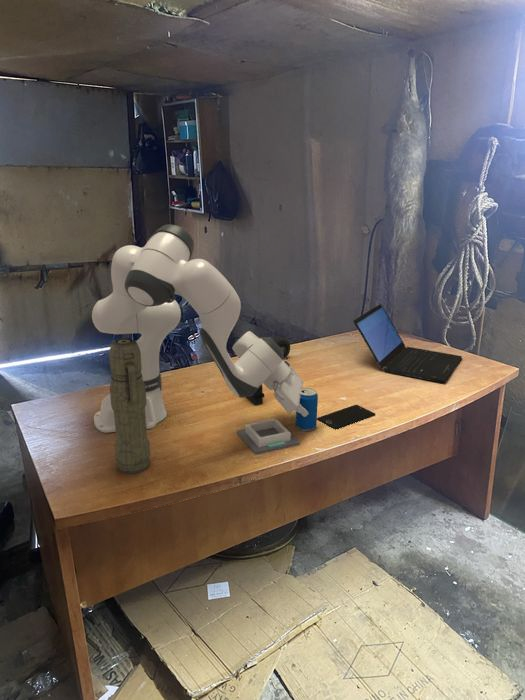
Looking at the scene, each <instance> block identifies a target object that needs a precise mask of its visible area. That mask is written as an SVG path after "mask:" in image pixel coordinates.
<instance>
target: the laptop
mask: <svg viewBox="0 0 525 700" xmlns="http://www.w3.org/2000/svg"><path fill="white" fill-rule="evenodd" d="M353 324H354V325H355V328H356V329H357V330H358V332H359V334H360V335H361V337H362V339H363V340H364V342H365V344H366V346H367V347H368V349H369V351H370V352H371V354H372V356H373V358H374V359H375V361H376V363H377V364H378V367H379V368H380V370H382V371H384V372H385V373H390V374H395V375H401V376H403V377H409V378H410V377H411V378H415V379H420V380H426V381H430V382H436V383H441V384H445V383H446V382H447V381H448V380H449V378H450V377H451V375H452V373H454V371H455V369H456V368H457V366H458V364H460V362H461V360H462V358H463V356H462V355H457V354H452V353H445V352H441V351H435V350H434V351H433V350H429V349H423V348H417V347H411V346H406V345H405V343H404V341H403V340H402V337H401V336H400V334H399V332H398V331H397V329H396V327H395V325H394V323H393V321H392V320H391V319H390V317H389V315H388V313H387V312H386V310H385V309H384V306H382V304H378V305H376V306H374V307H373V308H372V309H370V310H368V311H367V312H365V313H363V314H362V315H360V316H358V317H357V318H355V319H354V320H353Z"/></svg>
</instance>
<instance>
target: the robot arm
mask: <svg viewBox="0 0 525 700" xmlns="http://www.w3.org/2000/svg"><path fill="white" fill-rule="evenodd" d="M194 249H195V242H194V239H193V237H192V236H191V234H190V233H189V231H187V230H186V229H184V228H183V227H181V226H179V225H176V224H171V223H170V224H168V223H167V224H164V225H163V226H161V227H159V228H158V229H157V230H156V231H154V232H153V233H152V234H151V235H150V236H148V238H147V242H146V244H145V245H144V246H142V247H140V246H137V245H133V244H132V245H130V244H129V245H124V246H122V247H120V248H119V249H117V250H116V252H115V253H114V254H113V256H112V260H111V267H110V269H111V270H110V275H111V277H110V278H111V285H112V292H111V294H109V295H108V296H106V297H105V298H101V299H100V300H97V301H96V303H95V304H94V306H93V308H92V311H91V320H92V323H93V325H94V327H95V328H96V329H97V330H98V331H99V332H100V333H104V334H112V335H127V334H129V335H130V334H140V335H141V336H140V337H139V338H138V339H137V340H135V341H136V342H137V344H138V347H139V349H140V352H141V367H142V370H141V373H142V379H143V381H144V383H145V389H146V406H145V416H146V430H147V429H148V430H149V429H154V428H155V427H156V425H157V424H158V423H160V422H161V421H163V420H164V419H166V417H167V415H168V413H167V412H168V411H167V409H166V407H165V404H164V400H163V394H162V386H163V383H162V382H163V381H162V374H161V372H160V350H161V347H162V345H163V342H164V340H165V339H166V337H167V336H168V335H169V334H170V333H171V332H172V331H174V329H176V328H177V326H178V325H179V323H180V320H181V318H182V311H181V307H180V305H179V303H178V302H177V300H176V295H178V296H180V297H181V298H184V300H186V301H187V302H188V303H189V305H190V306H191V307H192V309H193V310H194V312H196V313H197V315H198V317H199V320H200V330H199V335H200V338H201V341H202V342H203V344H204V346H205V349H206V350H207V352H208V353H209V355H210V357H211V358H212V360H213V361H214V363H215V365H216V367H217V368H218V370H219V372H220V373H221V376H222V377H223V378H222V379H224V381H225V385H226V386H227V387H228V389H229V390H230V391H231V393H233V394H234V395H235V396H236V397H239V398H247V397H250V396H253V394H254V393H255V392H256V391H257V389H258V388H259V386H260V385H261V384H262V385H264V386H265V388H267V389H268V390H269V391H274V392H273V396H274V398H275V400H276V401H277V402H278V403H279V405H281V407H283V409H284V410H285V411H286V412H287V413H289V414H293V412H296V411H297V412H299V413H301V414H302V415H303V416H304V417H306V416H307V415H308V410H307V409H306V408H303V407H302V406H301V404H300V403H299V402H300V397H301V396H300V391H301V390H300V389H301V388H303V384H304V381H303V379H302V377H301V376H300V375H299V374H298V372H297V371H296V370H295V369H294V368H293V367H292V366H291V362H289V361H288V360H287V359H283V358H284V353H283V349H281V348H280V347H279V346H278V345H277V344H276V342H275V341H274V340H275V339H273V337H269V336H268V337H267V336H266V337H259V336H257V335H255V334H254V333H253V332H252V331H250V330H248V331H247V330H246V331H245V332H244V333H243V334H242V335H240V337H238V338H237V339H236V341H235V342H234V343H233V345H232V351H233V352H234V353H235V355H236V356H237V358H238V359H237V360H236V361H233V359H232V357H231V356H230V354H229V352H228V349H227V343H228V340H229V337H230V335H231V333H232V331H233V329H234V327H235V325H236V324H237V322H238V320H239V317H240V315H241V309H242V303H241V299H240V297H239V295H238V293H237V291H236V289H234V287H233V285H232V284H231V283H230V282H229V281H228V279H227V278H226V277H225V276H224V275H223V274H222V272H220V270H218V269H217V268H216V267H215V266H213V264H211V263H210V262H209V261H207V260H206V259H203V258H194V259H191V258H192V255H193V254H194V253H193V252H194ZM190 259H191V260H190ZM100 405H101V406H100V410H99V411H97V412H96V413H95V414H94V415H93V424H94V427H95V428H96V430H98V431H99V432H101V433H104V434H105V433H106V434H107V433H116V431H115V420H114V411H113V409H112V407H111V397H110V393H109V394H108V395H107V396H106V397H104V398H103V399H102V401H101V404H100Z"/></svg>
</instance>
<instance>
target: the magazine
mask: <svg viewBox="0 0 525 700" xmlns="http://www.w3.org/2000/svg"><path fill="white" fill-rule="evenodd" d="M246 398H247V399H248V400H249V401H250V402H251V403H252V404H253V405H254V406H256V405H262V404H264V402H263V401H264V398H265V393H264V392H263V383H262V384H261V385H260V386H259V388H258V389H257V391H256V392H255V393H254V394H253V396H250V397H246Z"/></svg>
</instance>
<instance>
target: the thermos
mask: <svg viewBox="0 0 525 700" xmlns="http://www.w3.org/2000/svg"><path fill="white" fill-rule="evenodd" d="M136 341H137V340H136V339H133V338H129V337H128V338H127V337H125V338H124V337H123V338H118V339H116V340H113V341H112V342H111V343H110V348H109V352H108V355H109V356H108V357H109V358H108V359H109V368H110V373H111V377H110V385H109V394H110V397H111V407H112V409H113V411H114V420H115V431H116V432H115V442H114V452H115V460H116V467H117V470H118V471H119V472H121V473H122V474H127V475H129V474H132V475H133V474H138V473H142V472H144V471H146V470H147V469H148V468H149V467H150V466H151V460H150V457H151V447H150V445H151V444H150V440H149V438H148V435H147V434H148V433H147V432H148V431H147V429H146V416H145V406H146V389H145V383H144V381H143V379H142V373H141V370H142V367H141V352H140V349H139V347H138V344H137V342H136Z"/></svg>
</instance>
